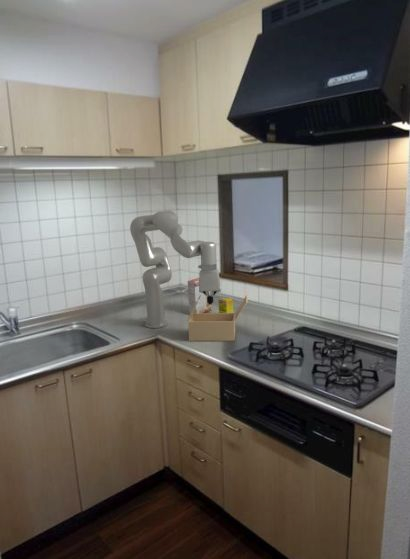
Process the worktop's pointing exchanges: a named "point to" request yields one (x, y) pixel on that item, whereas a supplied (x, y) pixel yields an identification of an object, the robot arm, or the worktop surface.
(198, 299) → the flap
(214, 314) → the carton
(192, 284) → the cracker box
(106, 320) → the worktop surface
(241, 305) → the flap
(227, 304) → the supplement box
